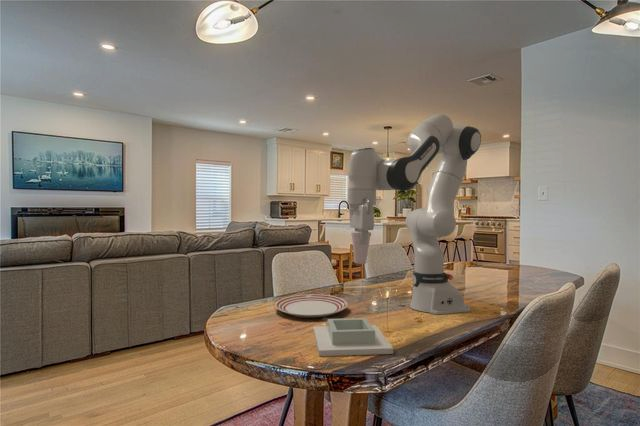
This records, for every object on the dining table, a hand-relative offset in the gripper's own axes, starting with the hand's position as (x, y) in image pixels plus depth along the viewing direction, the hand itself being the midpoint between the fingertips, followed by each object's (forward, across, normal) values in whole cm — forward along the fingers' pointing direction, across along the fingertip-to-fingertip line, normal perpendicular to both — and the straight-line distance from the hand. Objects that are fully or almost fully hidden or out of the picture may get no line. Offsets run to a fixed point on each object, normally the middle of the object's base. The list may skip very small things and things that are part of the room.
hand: (360, 243), depth 118 cm
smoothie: (+6, 0, 0) cm, 6 cm away
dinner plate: (+29, +26, +13) cm, 41 cm away
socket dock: (+28, -8, +4) cm, 30 cm away
